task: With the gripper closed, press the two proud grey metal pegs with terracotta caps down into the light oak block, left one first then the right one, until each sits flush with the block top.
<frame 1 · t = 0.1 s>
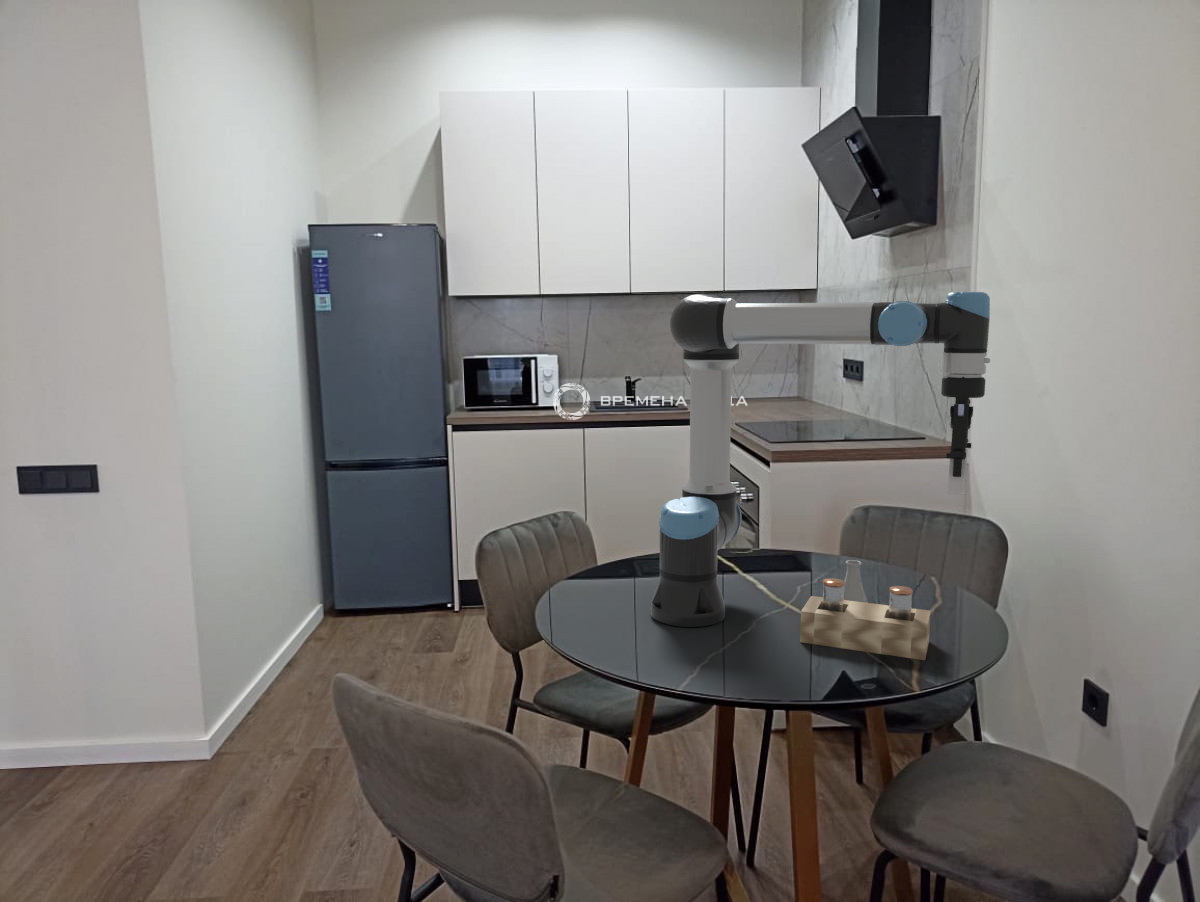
hand: (957, 487, 165), 28 cm above the table, fingers open, 13 cm apart
peg right: (900, 604, 159), point 8 cm above the table, slide at 5.0 cm
flask: (851, 609, 181), on the table
peg left: (833, 596, 163), point 8 cm above the table, slide at 5.0 cm
oak block: (864, 641, 162), on the table
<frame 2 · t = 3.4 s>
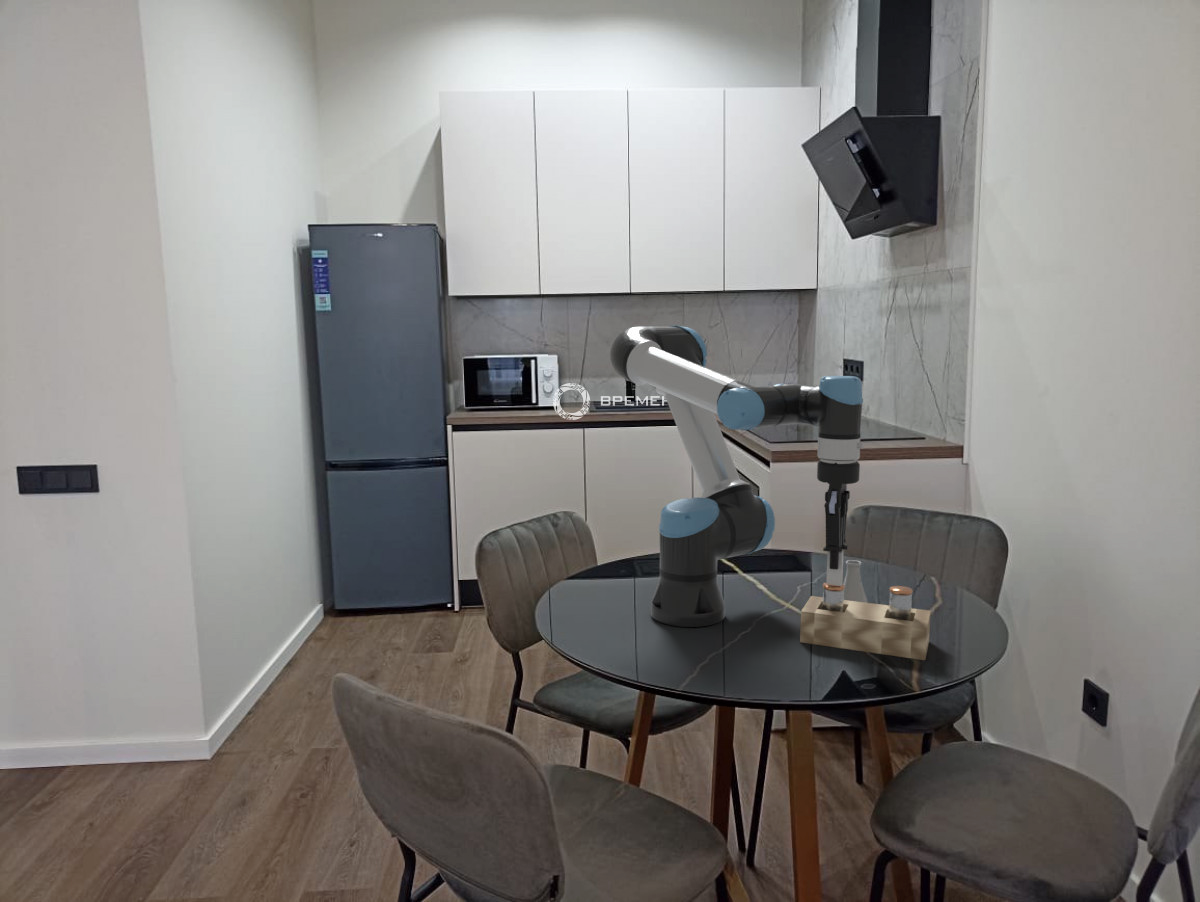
hand: (834, 584, 163), 10 cm above the table, fingers closed
peg left: (833, 600, 164), point 7 cm above the table, slide at 4.2 cm, touching gripper
everything else where it was.
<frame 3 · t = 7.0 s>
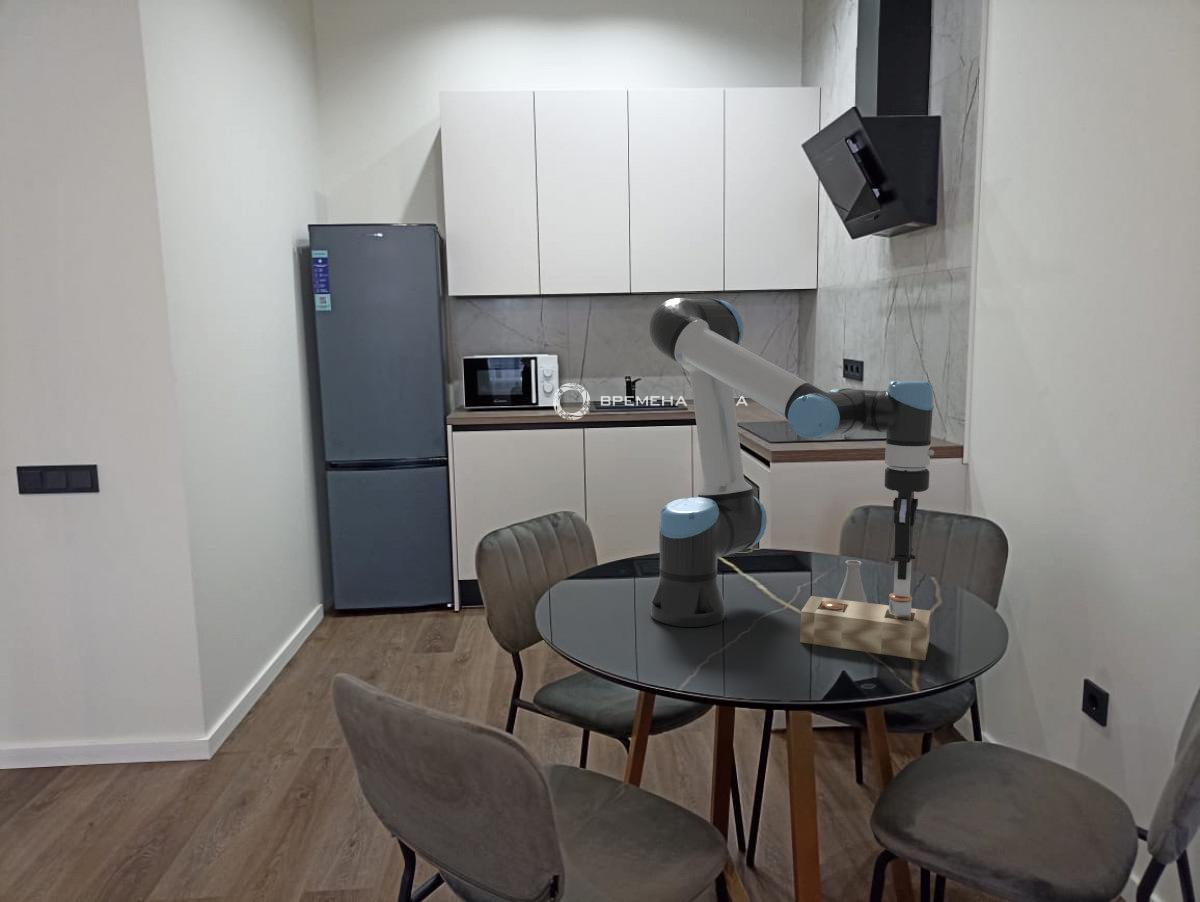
hand: (901, 594, 158), 10 cm above the table, fingers closed
peg right: (900, 611, 159), point 7 cm above the table, slide at 3.7 cm, touching gripper
peg left: (832, 619, 164), point 4 cm above the table, slide at 0.5 cm
everything else where it was.
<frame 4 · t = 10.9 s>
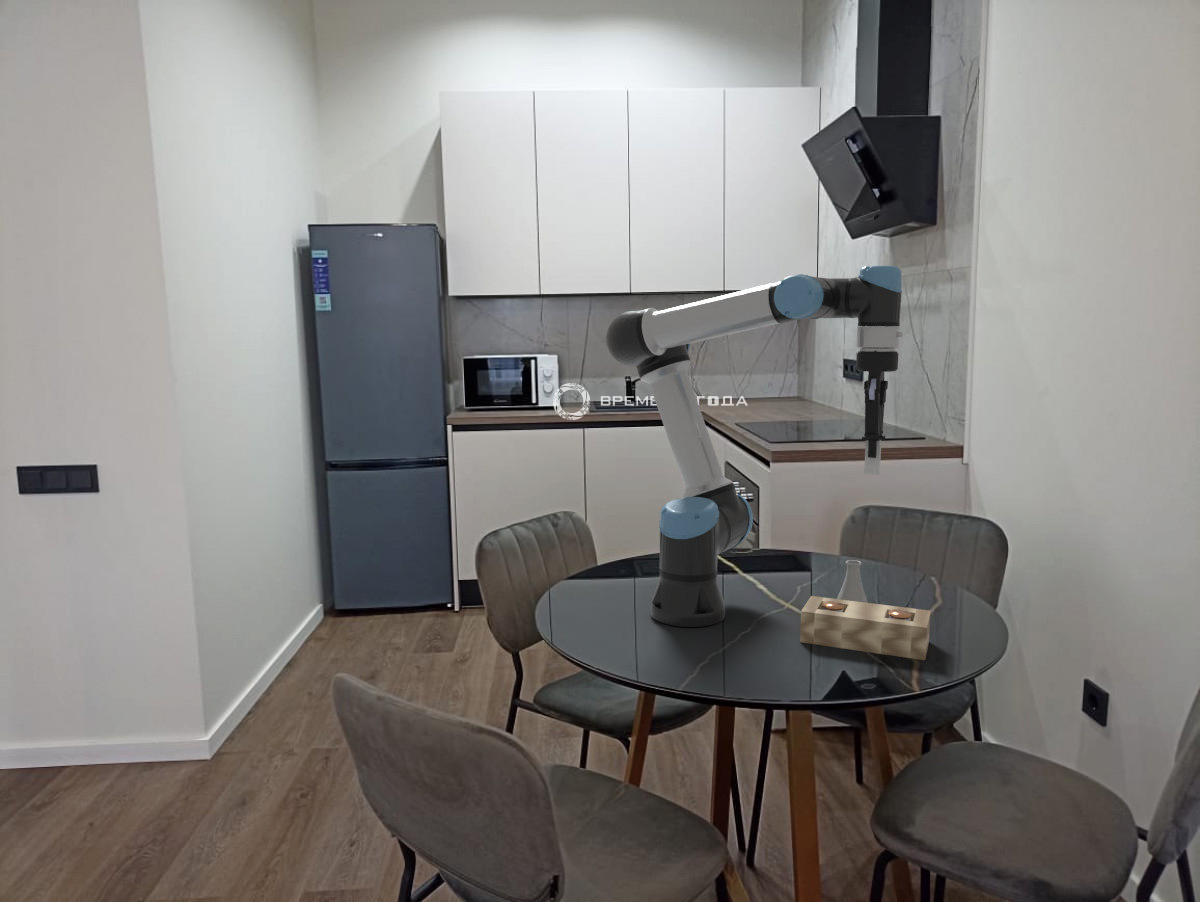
hand: (872, 473, 166), 30 cm above the table, fingers closed
peg right: (899, 628, 159), point 4 cm above the table, slide at 0.5 cm
everything else where it was.
at the end: peg left slide at 0.5 cm; peg right slide at 0.5 cm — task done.
